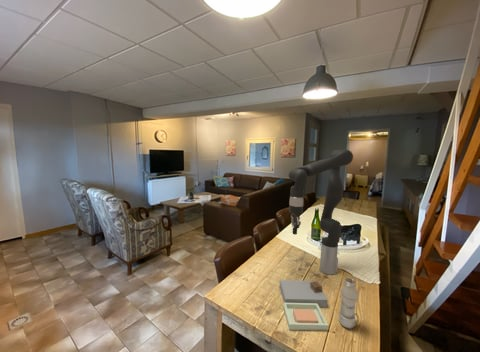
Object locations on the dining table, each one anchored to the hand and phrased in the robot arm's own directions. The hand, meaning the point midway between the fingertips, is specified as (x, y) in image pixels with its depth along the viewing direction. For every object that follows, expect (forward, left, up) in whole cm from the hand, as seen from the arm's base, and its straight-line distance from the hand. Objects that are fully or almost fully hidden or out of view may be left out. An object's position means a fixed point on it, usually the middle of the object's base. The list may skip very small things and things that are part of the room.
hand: (294, 233), depth 113 cm
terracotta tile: (+2, +30, -24) cm, 38 cm away
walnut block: (-8, +15, -23) cm, 29 cm away
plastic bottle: (-15, +31, -27) cm, 44 cm away
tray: (+2, +28, -27) cm, 39 cm away
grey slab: (-1, +15, -27) cm, 31 cm away
